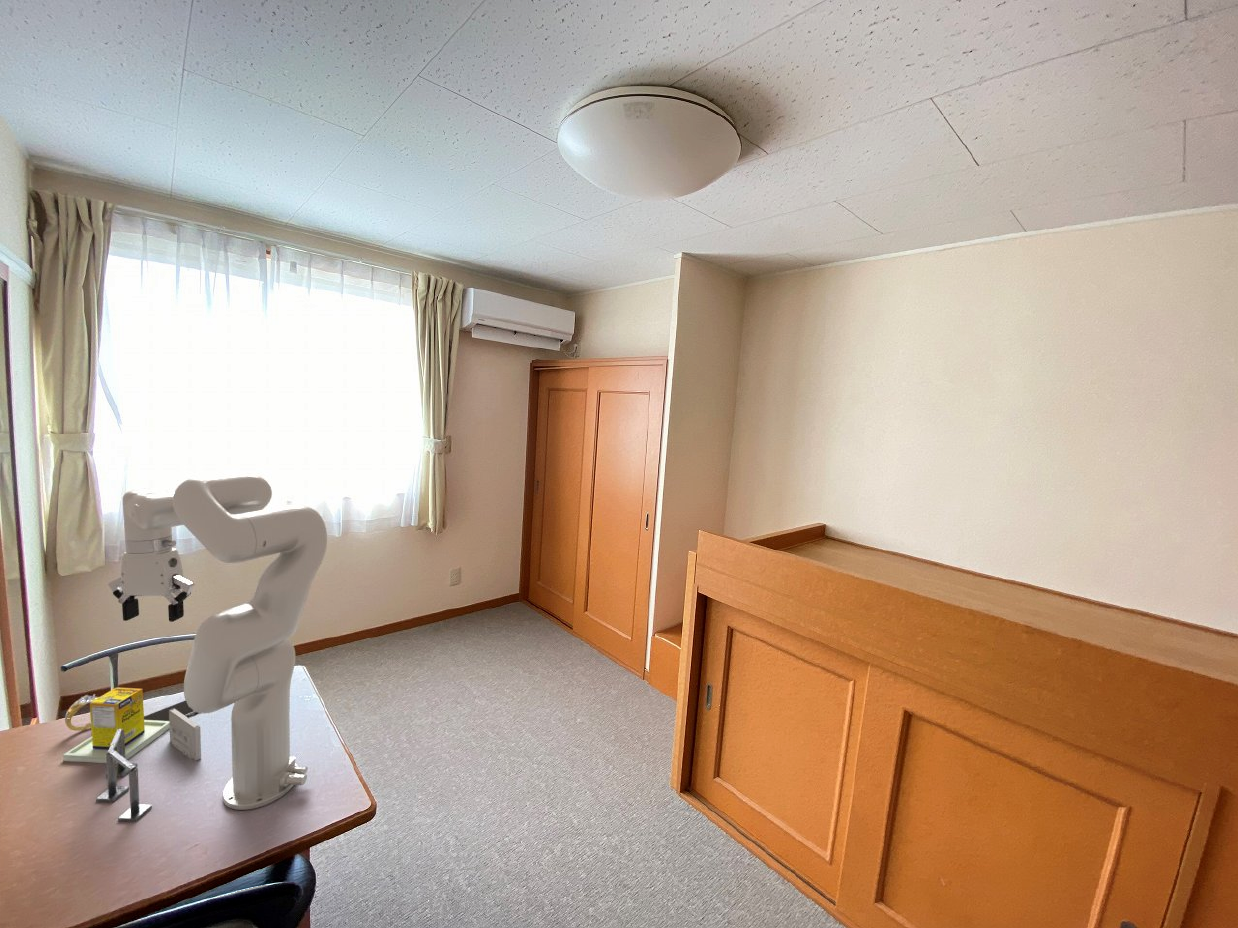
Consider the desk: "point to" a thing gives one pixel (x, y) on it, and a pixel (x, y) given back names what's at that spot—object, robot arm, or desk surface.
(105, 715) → the supplement box
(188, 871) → the desk surface
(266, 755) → the robot arm
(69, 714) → the ring
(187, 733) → the cassette
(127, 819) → the metal handrail
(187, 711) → the smartphone
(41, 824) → the desk surface
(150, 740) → the tray
